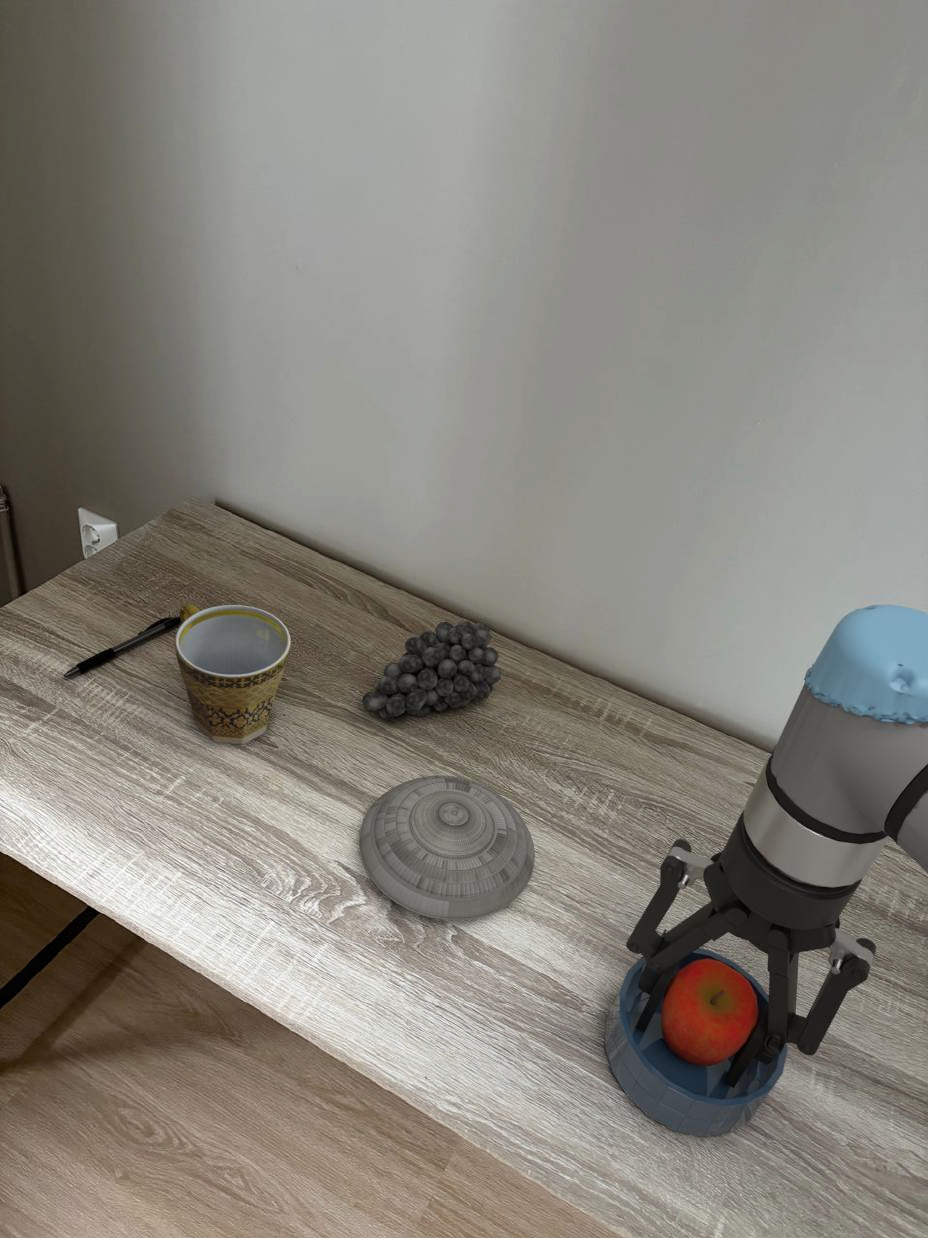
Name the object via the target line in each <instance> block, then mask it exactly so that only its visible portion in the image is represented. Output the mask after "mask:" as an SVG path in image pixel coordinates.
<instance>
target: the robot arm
mask: <svg viewBox="0 0 928 1238" xmlns="http://www.w3.org/2000/svg"><path fill="white" fill-rule="evenodd" d="M803 680H804V684H803V686H802V688H801V690H800V692H799V695H798V696H797V699H796V702H795V704H794V706H793V707H792V710H791V712H790V715H789V716H788V719H787V721H786V723H785V725H784V727H783V730H782V732H781V734H780V736H779V738H778V740H777V742H776V744H775V745H774V747H773V749H772V751H771V753H770V756H769V757H768V759H767V760H766V761H765V763H764V765H763V767H762V770H761V771H760V773H759V775H758V778H757V779H756V782H755V783H754V786H753V787H752V789H751V792H750V794H749V796H748V798H747V800H746V802H745V805H744V808H743V810H742V812H741V813H740V814H739V817H738V819H737V821H736V823H735V825H734V827H733V829H732V831H731V833H730V836H729V837H728V839H727V842H726V843H725V845H724V847H723V849H722V850H721V851H719V852H717V853H714V854H713V855H711V857H710V858H709V857H705V856H703V855H700V854H696V853H694V852H692V851H693V849H692V846H691V844H690V843H689V842H688V841H687V840H685V839H681V838H678V839H676V840H674V842H673V844H672V845H671V847H670V849H669V851H668V852H667V854H666V855H665V857H664V860H663V861H662V862H661V865H660V872H659V873H660V875H659V880H660V881H659V886H658V888H657V889H656V891H655V893H654V894H653V896H652V897H651V899H650V901H649V902H648V904H647V906H646V907H645V909H644V911H643V913H642V914H641V916H640V918H639V919H638V921H637V923H636V924H635V927H634V928H633V930H632V932H631V934H630V936H629V937H628V939H627V940H626V943H625V947H626V949H627V950H628V951H629V952H631V953H632V954H634V955H641V956H644V957H645V959H646V962H647V964H646V966H645V969H644V971H643V973H642V975H641V977H640V979H639V981H638V988H639V989H640V990H642V991H644V992H645V993H647V994H649V995H650V998H649V1000H648V1002H647V1004H646V1006H645V1008H644V1010H643V1012H642V1014H641V1016H640V1018H639V1020H638V1022H637V1024H636V1026H635V1027H636V1028H637V1029H639V1030H641V1031H642V1032H644V1033H645V1031H646V1029H647V1027H648V1025H649V1023H650V1021H651V1019H652V1017H653V1015H654V1013H655V1011H656V1009H657V1007H658V1005H659V1003H660V1001H661V999H662V997H663V995H664V993H665V991H666V989H667V987H668V985H669V983H670V981H671V979H672V977H673V975H674V973H675V971H676V969H677V967H678V965H679V963H680V961H681V960H682V959H683V958H685V957H686V956H688V955H689V954H691V953H692V952H694V951H695V950H697V949H698V948H701V947H703V946H704V945H706V944H707V943H709V942H710V941H713V942H715V941H717V940H719V939H721V938H722V937H724V936H725V935H727V934H728V933H729V934H730V935H732V936H734V937H736V938H738V939H742V940H744V941H746V942H749V943H750V944H751V945H752V946H753V947H755V948H756V949H757V950H759V951H760V952H762V953H764V954H766V955H767V965H766V966H767V967H766V968H767V972H768V974H769V975H768V995H769V1001H768V1005H765V1006H764V1008H763V1009H762V1011H761V1013H760V1014H759V1016H758V1020H757V1025H756V1027H755V1029H754V1030H753V1032H752V1034H751V1036H750V1038H749V1039H748V1041H747V1042H746V1043H745V1044H744V1045H743V1046H742V1047H741V1048H740V1049H739V1050H738V1051H737V1052H736V1053H735V1056H734V1058H733V1061H732V1063H731V1066H730V1068H729V1071H728V1073H727V1075H726V1078H725V1080H724V1083H726V1084H728V1085H729V1086H731V1087H732V1088H734V1087H735V1086H736V1084H737V1082H738V1081H739V1079H740V1078H741V1076H742V1075H743V1073H744V1072H745V1070H746V1069H747V1067H748V1065H749V1064H750V1062H751V1061H752V1059H753V1058H755V1059H757V1060H758V1061H760V1062H762V1063H763V1064H765V1065H766V1064H768V1063H771V1061H772V1060H773V1058H774V1057H775V1055H776V1054H781V1053H782V1051H783V1048H784V1045H785V1043H787V1044H793V1045H796V1048H797V1050H798V1051H799V1052H800V1053H802V1054H803V1055H806V1056H810V1057H813V1056H815V1054H816V1053H817V1051H818V1049H819V1048H820V1046H821V1044H822V1042H823V1040H824V1038H825V1036H826V1035H827V1032H828V1030H829V1028H830V1026H831V1025H832V1022H833V1021H834V1018H835V1017H836V1015H837V1013H838V1011H839V1009H840V1008H841V1005H842V1003H843V1001H844V1000H845V998H846V996H847V994H848V992H849V991H851V990H853V989H855V988H856V987H858V986H859V985H861V984H862V983H864V982H867V980H868V978H869V974H870V972H871V968H872V965H873V962H874V959H875V955H876V952H877V945H876V944H875V942H874V941H873V940H871V939H869V938H865V937H860V938H858V939H856V940H854V939H853V937H851V936H850V935H848V934H847V933H846V932H844V931H843V930H842V929H841V918H840V916H841V914H842V913H843V911H844V910H845V908H846V907H847V905H848V903H849V902H850V900H851V899H852V898H853V896H854V895H855V892H856V891H857V890H858V888H859V886H860V885H861V883H862V881H863V879H864V877H865V876H866V875H867V874H868V872H869V871H870V870H871V868H872V866H873V865H874V863H875V861H876V860H877V858H878V856H879V855H880V853H881V852H882V850H883V848H884V847H885V845H886V844H887V842H888V840H889V839H891V840H892V841H893V842H894V843H895V844H896V845H897V846H898V847H900V849H902V850H903V851H904V852H905V854H907V855H908V856H909V857H910V858H911V859H912V860H913V861H914V862H915V863H916V864H917V865H918V866H920V868H921V869H922V870H923V871H924V872H925V873H926V874H928V612H925V611H923V610H920V609H916V608H912V607H908V606H902V605H896V604H872V605H868V606H865V607H862V608H857V609H854V610H853V611H851V612H849V613H847V614H845V616H843V617H842V618H841V619H840V620H839V621H838V623H836V625H835V627H834V629H833V631H831V634H830V636H829V637H828V638H827V640H826V642H825V643H824V646H823V647H822V649H821V650H820V653H819V655H818V656H817V658H816V659H815V661H814V663H812V665H811V666H810V667H809V668H807V671H806V672H805V675H804V678H803ZM699 879H701V880H703V883H704V885H705V888H706V891H707V893H708V897H709V899H710V901H709V902H708V903H706V904H704V905H703V906H701V908H699V909H698V910H696V911H695V912H694V913H692V914H691V915H689V916H688V917H686V918H685V919H684V920H681V922H679V923H678V924H677V925H675V926H673V928H671V929H670V930H668V931H667V929H666V928H665V929H664V930H663V931H662V934H660V933H658V932H657V929H658V927H659V925H660V924H661V923H662V921H663V919H664V917H665V916H666V914H667V913H668V911H669V910H670V909H671V906H672V905H673V903H674V902H675V899H676V898H677V896H678V894H679V892H680V891H681V890H685V889H686V888H687V887H688V886H692V885H694V883H695V881H696V880H699ZM827 948H828V949H829V951H830V953H829V955H828V960H827V961H828V963H829V965H830V968H829V970H828V971H827V974H826V976H825V979H824V980H823V982H822V984H821V986H820V988H819V990H818V992H817V994H816V997H815V998H814V1000H813V1003H812V1005H811V1007H810V1008H809V1011H808V1013H807V1015H806V1017H805V1016H802V1015H799V1014H797V997H798V996H797V995H798V977H799V960H800V959H799V958H800V957H799V956H800V953H805V952H811V951H818V950H822V949H827Z"/></svg>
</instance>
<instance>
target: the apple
mask: <svg viewBox="0 0 928 1238" xmlns="http://www.w3.org/2000/svg"><path fill="white" fill-rule="evenodd" d="M758 1015H759V1013H758V1005H757V998H756V994H755V992H754V991H753V989H752V987H751V985H750V983H749V981H748V980H747V979H746V978H745V977H744V976H742V975H741V974H740V973H739V972H737V971H736V970H734V969H732V968H731V967H729V966H727V965H726V964H724V963H722V962H721V961H717V960H712V959H702V960H697V961H693V962H692V963H690V964H689V965H687V966H685V967H684V968H682V969H681V970H679V971H678V972H677V973H676V974H675V975H674V976H673V977H672V979H671V981H670V983H669V985H668V987H667V989H666V991H665V995H664V999H663V1003H662V1018H661V1028H662V1034H663V1038H664V1041H665V1043H666V1045H667V1047H668V1048H669V1049H670V1051H671V1052H673V1053H674V1054H675V1055H676V1056H678V1057H679V1058H680V1059H682V1060H684V1061H686V1062H688V1063H690V1064H693V1065H697V1066H712V1065H715V1064H719V1063H722V1062H723V1061H725V1060H726V1059H727V1058H729V1057H730V1056H732V1055H733V1054H734V1053H736V1052H737V1051H738V1050H739V1049H740V1048H741V1047H742V1046H743V1045H744V1044H745V1043H746V1042H747V1041H748V1039H749V1038H750V1036H751V1034H752V1032H753V1030H754V1029H755V1027H756V1025H757V1020H758Z"/></svg>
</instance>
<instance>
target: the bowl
mask: <svg viewBox="0 0 928 1238" xmlns="http://www.w3.org/2000/svg"><path fill="white" fill-rule="evenodd" d="M702 959H712V960H717V961H721V962H722V963H724V964H726V965H727V966H729V967H731V968H732V969H734V970H736V971H737V972H739V973H740V974H741V975H742V976H744V977H745V978H746V979H747V980H748V981H749V983H750V985H751V987H752V989H753V991H754V992H755V994H756V998H757V1005H758V1013H759V1014H760V1013H761V1011H762V1009H763V1008H764V1006H765V1005H768V1001H769V993H768V992H767V991H766V990H765V988H764V987H763V985H761V983H759V981H758V980H757V979H756V978H755V977H754V976H752V974H750V973H749V972H748V971H746V970H745V968H742V967H741V966H740V965H739V964H738V963H737V962H735V961H733V960H732V959H729V958H727V957H725V956H723V955H720V953H719V954H718V953H717V952H714V951H712V950H710V949H705V948H701V947H700V948H698V949H697V950H695V951H694V952H692V953H691V954H689V955H688V956H686V957H685V958H683V959H682V960H681V961H680V963H679V965H678V967H677V969H676V971H675V973H674V975H675V974H676V973H677V972H678V971H679V970H681V969H682V968H684V967H685V966H687V965H689V964H690V963H692V962H693V961H697V960H702ZM646 964H647V962H646V959H645V957H644V956H643V955H641V957H640V958H639V959H638V960H637V961H636V962H635V963H634V964H633V965H632V966H631V967H630V968H629V969H628V970H627V972H626V973H625V975H624V978H623V981H622V983H621V985H620V987H619V990H618V992H617V994H616V996H615V999H614V1001H613V1002H612V1003H613V1004H612V1006H611V1008H610V1011H609V1013H608V1016H607V1019H606V1021H605V1034H604V1035H605V1037H604V1038H605V1039H604V1041H605V1042H604V1043H605V1044H604V1046H605V1047H604V1048H605V1051H606V1054H607V1058H608V1061H609V1065H610V1068H611V1071H612V1073H613V1075H614V1078H616V1080H617V1082H618V1083H619V1085H620V1087H621V1089H623V1091H624V1093H625V1094H626V1096H627V1097H628V1099H629V1100H631V1102H632V1103H634V1104H635V1105H636V1106H637V1107H638V1108H639V1109H640V1110H641V1111H642V1112H644V1114H646V1116H647V1117H649V1118H650V1119H652V1120H654V1121H656V1122H657V1123H659V1124H661V1125H663V1126H665V1127H667V1128H669V1129H671V1130H673V1131H675V1132H678V1133H683V1134H686V1135H687V1134H689V1135H692V1136H697V1137H712V1136H719V1135H720V1136H721V1135H727V1134H730V1133H732V1132H734V1131H736V1130H737V1129H739V1128H741V1127H743V1126H745V1125H746V1124H747V1123H749V1122H750V1121H751V1120H752V1118H753V1117H754V1116H755V1114H756V1113H757V1112H758V1110H759V1109H760V1107H761V1106H762V1104H763V1103H764V1102H765V1100H766V1098H767V1097H768V1096H769V1094H770V1093H771V1091H772V1090H773V1088H774V1087H775V1085H777V1082H778V1081H779V1080H780V1079H781V1077H782V1076H783V1074H784V1070H785V1065H786V1061H787V1056H788V1043H785V1045H784V1048H783V1051H782V1053H781V1054H776V1055H775V1057H774V1058H773V1060H772V1061H771V1063H768V1064H766V1065H765V1064H763V1063H762V1062H760V1061H758V1060H757V1059H755V1058H753V1059H752V1061H751V1062H750V1064H749V1065H748V1067H747V1069H746V1070H745V1072H744V1073H743V1075H742V1076H741V1078H740V1079H739V1081H738V1082H737V1084H736V1086H735V1087H734V1088H732V1087H731V1086H729V1085H728V1084H726V1083H724V1080H725V1078H726V1075H727V1073H728V1071H729V1068H730V1066H731V1063H732V1061H733V1058H734V1056H735V1053H734V1054H733V1055H732V1056H730V1057H729V1058H727V1059H726V1060H725V1061H723V1062H722V1063H719V1064H715V1065H712V1066H697V1065H693V1064H690V1063H688V1062H686V1061H684V1060H682V1059H680V1058H679V1057H678V1056H676V1055H675V1054H674V1053H673V1052H671V1051H670V1049H669V1048H668V1047H667V1045H666V1043H665V1041H664V1038H663V1034H662V1028H661V1018H662V1003H663V999H664V995H665V993H664V995H663V997H662V999H661V1001H660V1003H659V1005H658V1007H657V1009H656V1011H655V1013H654V1015H653V1017H652V1019H651V1021H650V1023H649V1025H648V1027H647V1029H646V1031H645V1033H644V1032H642V1031H641V1030H639V1029H637V1028H636V1027H635V1026H636V1024H637V1022H638V1020H639V1018H640V1016H641V1014H642V1012H643V1010H644V1008H645V1006H646V1004H647V1002H648V1000H649V998H650V995H649V994H647V993H645V992H644V991H642V990H640V989H639V988H638V981H639V979H640V977H641V975H642V973H643V971H644V969H645V966H646ZM674 975H673V976H674ZM758 1016H759V1015H758Z"/></svg>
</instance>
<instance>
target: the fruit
mask: <svg viewBox="0 0 928 1238" xmlns="http://www.w3.org/2000/svg"><path fill="white" fill-rule="evenodd" d="M492 638H493V636H492V634H491V630H490V626H489V625H487V624H486V623H484V622H482V621H480V622H479V621H478V622H476V623H474V624H472V623H471V622H470V621H469V620H460V621H459V622H458V623H457V624H456V625H453V624H452V623H451V622H449V621H440V622H439V623H437V624H436V628H435V630H434V631H432V630H426V631H423V632H421V634H420V635H419V636H415V635H414V636H410V637H409V638H408V639H407V640H406V641H405V643H404V648H405V650H406V652H405V653H403V654H402V655H401V656H400V658H399V661H398V662H389V663H387V664H386V665H385V667H384V669H383V676H381V678H380V679H379V680H378V682H377V684H376V685H375V687H374V691H368V692H366V693H365V694H364V695H363V696H362V699H361V703H362V705H363V708H364V709H365V710H366V711H367V712H374V711H375V712H376V711H378V714H379V716H380V717H381V719H383V720H387V721H392V720H394V719H396V717H399V716H400V715H402V714H404V712H406V713H408V714H409V715H416V716H418V717H422V718H423V717H426V715H428V714H429V713H430V711H431V706H432V707H433V708H434V711H436V712H437V711H438V712H443V711H446V710H447V708H448V706H449V708H452V709H459V708H461V707H462V708H464V707H466V706H468V705H469V704H470V702H471V700H473V699H475V700H477V701H485V700H488V698H489V696H490V694H491V693H492V692H493V691H494V684H496V683H498V682H499V681H500V680H501V672H502V671H501V670H500V668H499V666H497V665H495V664H496V663H497V662H498V660H499V657H502V654H500V653H499V652H498V651H497V650H496V649H495V648H494V647H492V646H489V645H491V642H492Z"/></svg>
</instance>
